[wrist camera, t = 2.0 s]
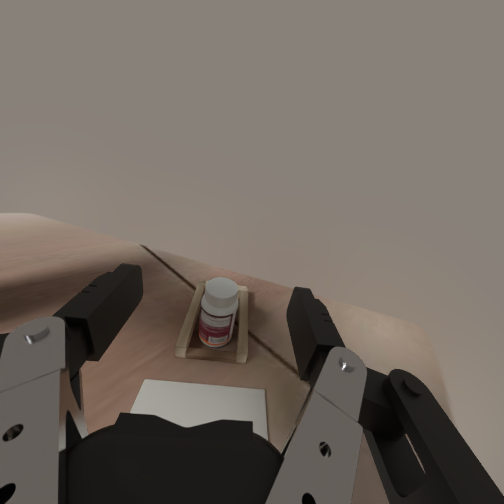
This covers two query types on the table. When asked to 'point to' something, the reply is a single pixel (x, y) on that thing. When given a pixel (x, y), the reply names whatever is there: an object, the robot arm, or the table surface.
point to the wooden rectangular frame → (214, 355)
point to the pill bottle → (218, 312)
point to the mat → (202, 403)
